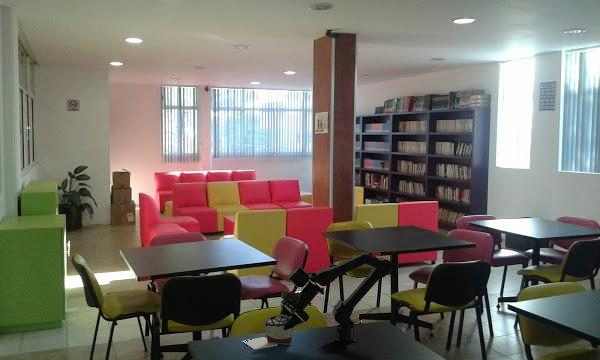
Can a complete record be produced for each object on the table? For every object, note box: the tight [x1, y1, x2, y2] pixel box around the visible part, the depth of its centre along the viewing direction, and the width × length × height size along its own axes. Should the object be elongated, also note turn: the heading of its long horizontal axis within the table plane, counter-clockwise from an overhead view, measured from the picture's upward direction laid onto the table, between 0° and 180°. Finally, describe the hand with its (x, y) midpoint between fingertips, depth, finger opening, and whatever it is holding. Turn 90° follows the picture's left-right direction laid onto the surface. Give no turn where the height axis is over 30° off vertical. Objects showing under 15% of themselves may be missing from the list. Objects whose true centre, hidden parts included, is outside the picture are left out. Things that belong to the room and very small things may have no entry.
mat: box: [241, 336, 279, 351], centre depth 213 cm, size 10×12×1 cm
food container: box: [263, 313, 296, 346], centre depth 212 cm, size 12×6×10 cm, turn 85°
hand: (280, 326), depth 210 cm, fingers open, 9 cm apart
